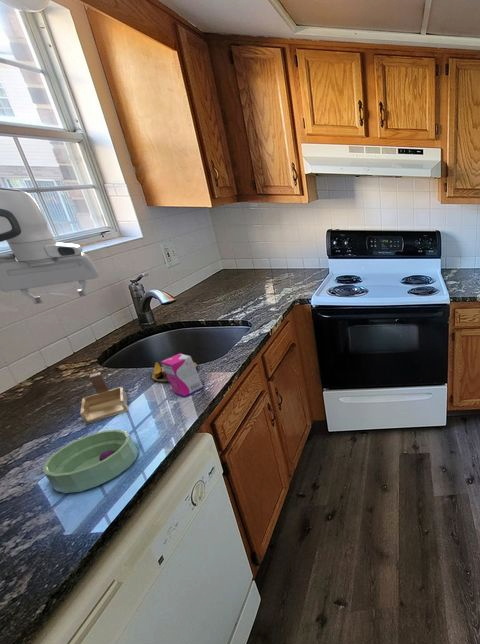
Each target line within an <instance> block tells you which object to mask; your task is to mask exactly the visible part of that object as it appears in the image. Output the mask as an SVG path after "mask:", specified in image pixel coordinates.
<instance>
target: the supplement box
mask: <svg viewBox="0 0 480 644" xmlns="http://www.w3.org/2000/svg"><path fill="white" fill-rule="evenodd" d="M193 362H194V361H193V358H192V356H191V355H187V354H183V353H177V354H175V355H172V356H171V357H168V358H166V359H163V360H161V361H160V364H161V367H163V368H164V371H165V373H166V375H167V377H168V380H169V384H170V386H171V389H172V391H173V393H174V394H175V395H177V396H180V397H183V398H187V397H190V396H191V395H194V394H195V393H197V392H199V391H201V390H203V389H204V385H203V383H202V380H201V377H200V376H199V373H198V371H197V367H196V368H195V366H194V363H195V362H194V363H193Z"/></svg>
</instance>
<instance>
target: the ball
mask: <svg viewBox="0 0 480 644" xmlns="http://www.w3.org/2000/svg"><path fill="white" fill-rule="evenodd" d="M113 453H115V451H112V450H108V451H105V452H103V453H102V454H101V455H100V457H99V460H100V461H102V460H104V459H106V458H107V457H109V456H110V455H112V454H113Z"/></svg>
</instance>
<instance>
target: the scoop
mask: <svg viewBox="0 0 480 644" xmlns="http://www.w3.org/2000/svg"><path fill="white" fill-rule="evenodd" d="M88 378H89V381H90V383H91V384H92V386H93V387H94V390H95V391H96V393H95V394H92V395H91V394H90V395H88V396H85V397H82V399H81V403H80V411H79V415H80V416H81V418H82V420H83V422H84V423H85V425H89V424H92V423H95V422H98V421H101V420H104V419H107V418H111V417H115V416H117V415H120V414H123V413H127V412H129V403H128V402H129V401H128V395H127V393H126V390H125V389H124V386H119V387H115V388H113V389H110V388H109V385H108V384H107V382H106V380H105V378H104V376H103V374H102V372H101V371H98V372H94V373H91V374H89V377H88Z"/></svg>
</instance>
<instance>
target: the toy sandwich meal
mask: <svg viewBox="0 0 480 644" xmlns="http://www.w3.org/2000/svg"><path fill="white" fill-rule="evenodd" d="M193 363H194V366H195V368H196V369H197V367H198V365H197V363H196V362H194V361H193ZM153 370H154V371H153V372H154V373H152V375H151V379H152V380H154V381H158V382H160V383H168V382H169V380H168V377H167V375H166V373H165V371H164V368H163V366H161V365H160V364H159V362H155V364H154V369H153ZM169 383H170V382H169Z"/></svg>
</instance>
